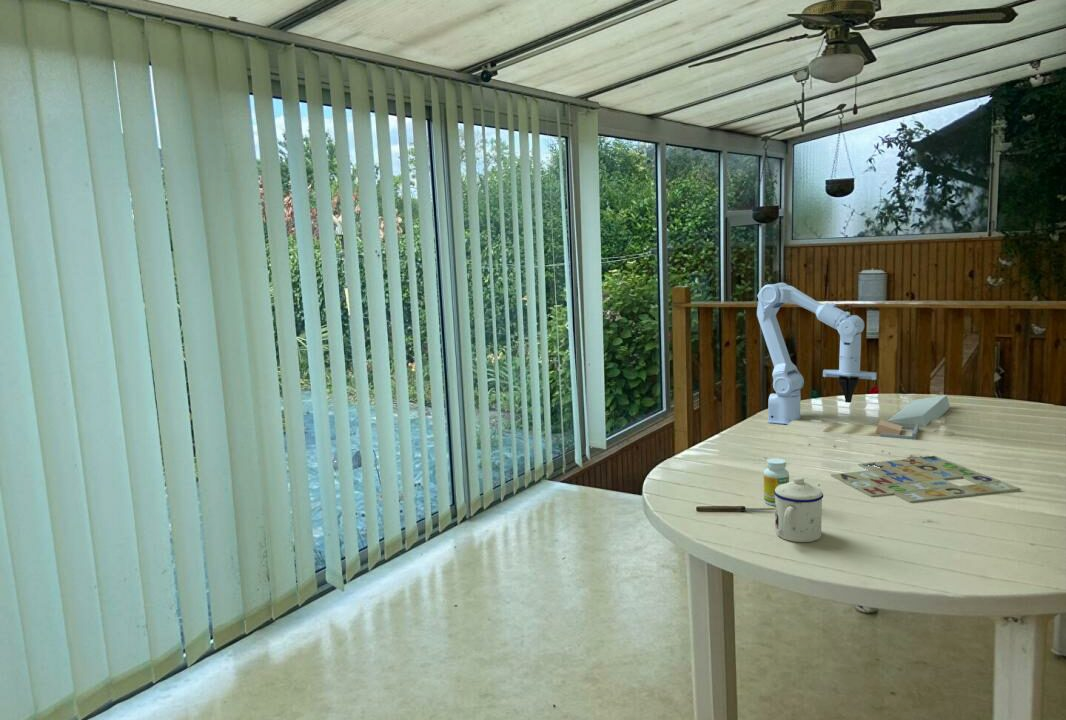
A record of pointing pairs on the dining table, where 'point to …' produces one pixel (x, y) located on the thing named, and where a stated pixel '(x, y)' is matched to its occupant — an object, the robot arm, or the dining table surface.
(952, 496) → the alphabet tiles
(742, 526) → the dining table surface
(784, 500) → the teacup with lid
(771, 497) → the supplement bottle
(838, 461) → the dining table surface
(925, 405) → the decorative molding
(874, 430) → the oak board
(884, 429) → the tile
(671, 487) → the dining table surface
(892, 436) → the tray
